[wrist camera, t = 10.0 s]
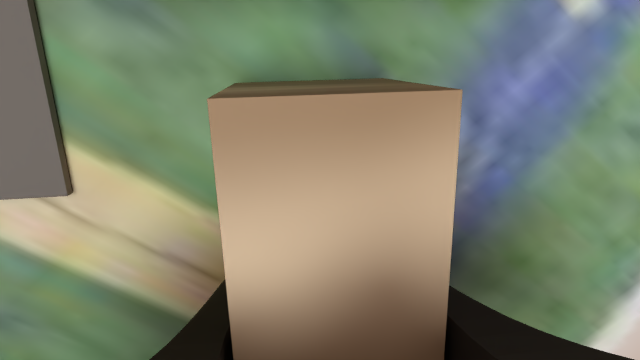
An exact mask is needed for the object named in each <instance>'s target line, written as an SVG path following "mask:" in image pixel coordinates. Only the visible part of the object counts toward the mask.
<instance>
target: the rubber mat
mask: <svg viewBox="0 0 640 360" xmlns="http://www.w3.org/2000/svg"><path fill="white" fill-rule="evenodd" d="M71 193H73V192H72V187H71V183H70V178H69V173H68V168H67V163H66V158H65V153H64V148H63V143H62V138H61V134H60V129H59V124H58V119H57V114H56V109H55V104H54V99H53V94H52V89H51V85H50V80H49V75H48V70H47V65H46V60H45V55H44V50H43V45H42V41H41V36H40V31H39V26H38V21H37V16H36V11H35V6H34V1H33V0H0V200H4V199H22V198H39V197H57V196H68V195H70V194H71Z"/></svg>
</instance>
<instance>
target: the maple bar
mask: <svg viewBox="0 0 640 360" xmlns="http://www.w3.org/2000/svg"><path fill="white" fill-rule="evenodd" d="M207 102H208V112H209V122H210V131H211V141H212V151H213V161H214V171H215V181H216V191H217V201H218V211H219V221H220V231H221V241H222V250H223V260H224V270H225V280H226V290H227V300H228V310H229V320H230V330H231V340H232V350H233V360H444V350H445V336H446V321H447V307H448V292H449V278H450V263H451V249H452V234H453V220H454V205H455V191H456V176H457V162H458V147H459V133H460V118H461V104H462V90H460V89H453V88H446V87H439V86H433V85H426V84H419V83H412V82H405V81H398V80H391V79H384V78H375V79H344V80H313V81H281V82H250V83H234V84H233V85H231V86H229V87H227V88H226V89H224V90H222V91H220V92H218V93H217V94H215V95H213V96H211V97H210V98H208V99H207Z"/></svg>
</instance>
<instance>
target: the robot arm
mask: <svg viewBox="0 0 640 360" xmlns="http://www.w3.org/2000/svg"><path fill="white" fill-rule="evenodd" d="M149 360H233V350H232V340H231V330H230V320H229V310H228V300H227V290H226V280H224V281H223V282H222V283H221V285H220V286H219V287H218V288H217V290H216V291H215V292H214V293H213V295H212V296H211V297H210V298H209V300H208V301H207V302H206V303H205V304H204V306H203V307H202V308H201V309H200V310H199V311H198V313H197V314H196V315H195V316H194V317H193V318H192V319H191V321H190V322H189V323H188V324H187V325H186V326H185V327H184V328H183V329H182V330H181V331H180V332H179V333H178V334H177V335H176V336H175V337H174V338H173V339H172V340H171V341H170V342H169V343H168V344H167V345H166V346H165V347H164V348H162V349H161V350H160V351H159V352H158V353H157V354H156V355H154V356H153V357H152V358H151V359H149ZM444 360H634V359H630V358H626V357H622V356H619V355H615V354H611V353H607V352H604V351H600V350H597V349H593V348H590V347H587V346H583V345H580V344H577V343H574V342H571V341H568V340H565V339H562V338H559V337H556V336H554V335H551V334H548V333H546V332H543V331H540V330H538V329H535V328H533V327H530V326H528V325H526V324H523V323H521V322H519V321H516V320H514V319H512V318H509V317H507V316H505V315H503V314H501V313H499V312H497V311H495V310H493V309H491V308H489V307H487V306H485V305H483V304H481V303H479V302H477V301H475V300H474V299H472V298H470V297H468V296H466V295H465V294H463V293H461V292H459V291H458V290H456V289H454V288H453V287H451V286H449V292H448V307H447V321H446V336H445V350H444Z"/></svg>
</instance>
